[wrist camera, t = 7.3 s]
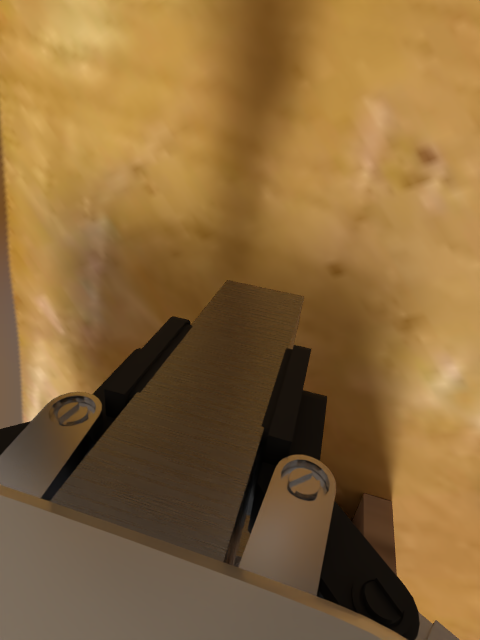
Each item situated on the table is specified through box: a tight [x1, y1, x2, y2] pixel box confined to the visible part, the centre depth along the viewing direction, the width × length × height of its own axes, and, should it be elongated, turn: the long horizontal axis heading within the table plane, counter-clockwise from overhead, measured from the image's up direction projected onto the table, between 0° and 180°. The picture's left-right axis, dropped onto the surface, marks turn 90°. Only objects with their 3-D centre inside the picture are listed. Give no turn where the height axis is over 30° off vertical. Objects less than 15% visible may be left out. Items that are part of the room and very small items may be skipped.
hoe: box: [50, 280, 304, 567], centre depth 13 cm, size 14×5×12 cm, turn 174°
